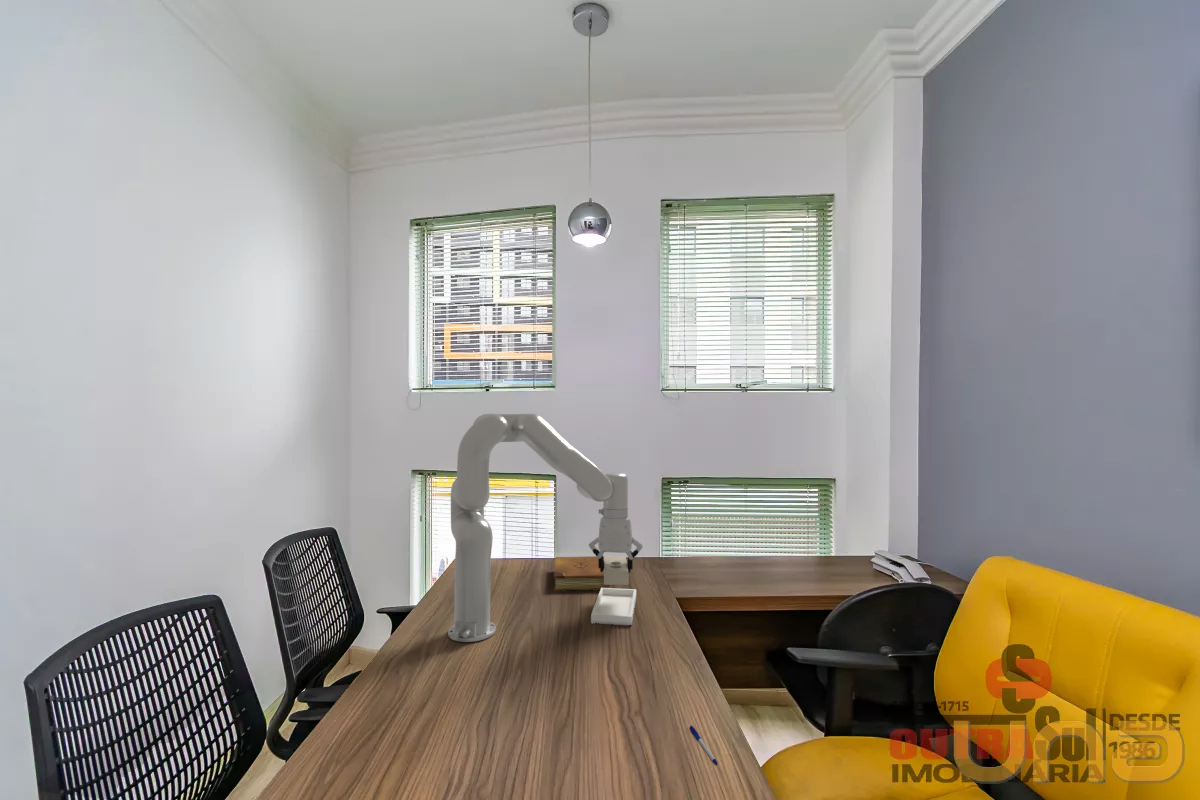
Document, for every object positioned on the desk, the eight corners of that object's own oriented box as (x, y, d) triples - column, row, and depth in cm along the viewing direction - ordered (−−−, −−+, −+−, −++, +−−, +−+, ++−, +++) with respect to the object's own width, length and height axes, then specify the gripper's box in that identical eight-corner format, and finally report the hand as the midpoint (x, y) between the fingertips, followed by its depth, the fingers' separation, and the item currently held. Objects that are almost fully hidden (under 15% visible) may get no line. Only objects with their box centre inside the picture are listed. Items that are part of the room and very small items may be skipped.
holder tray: (631, 625, 144) (631, 616, 144) (591, 623, 146) (591, 614, 146) (636, 597, 166) (636, 589, 167) (601, 595, 168) (601, 587, 168)
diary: (609, 592, 173) (609, 575, 173) (553, 593, 172) (553, 576, 172) (604, 570, 196) (604, 555, 196) (555, 571, 195) (555, 556, 195)
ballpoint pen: (687, 729, 97) (687, 724, 97) (692, 728, 97) (692, 723, 97) (715, 766, 87) (715, 760, 87) (719, 765, 87) (719, 759, 87)
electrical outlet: (625, 553, 166) (628, 570, 148) (625, 565, 166) (628, 584, 148) (603, 553, 166) (603, 570, 148) (603, 565, 166) (603, 584, 148)
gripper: (585, 515, 154) (585, 573, 154) (643, 516, 152) (643, 576, 151) (589, 510, 162) (589, 566, 161) (644, 511, 159) (644, 568, 159)
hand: (615, 570), depth 156 cm, fingers closed on electrical outlet, 7 cm apart
